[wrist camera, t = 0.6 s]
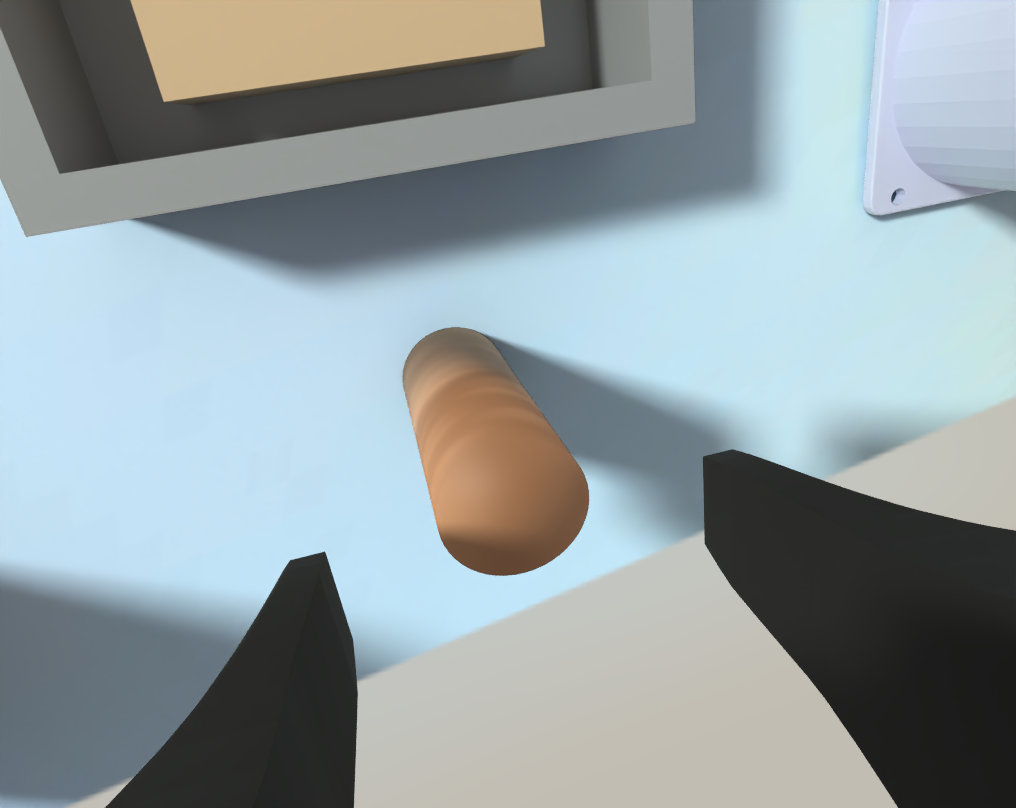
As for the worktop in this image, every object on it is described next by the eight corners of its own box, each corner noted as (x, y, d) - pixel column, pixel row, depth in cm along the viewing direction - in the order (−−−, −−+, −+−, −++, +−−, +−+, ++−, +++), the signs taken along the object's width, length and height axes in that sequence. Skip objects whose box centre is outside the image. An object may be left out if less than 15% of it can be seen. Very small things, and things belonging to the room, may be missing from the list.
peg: (496, 317, 20) (581, 423, 13) (510, 411, 22) (595, 553, 14) (392, 339, 20) (422, 461, 13) (413, 433, 21) (452, 592, 14)
